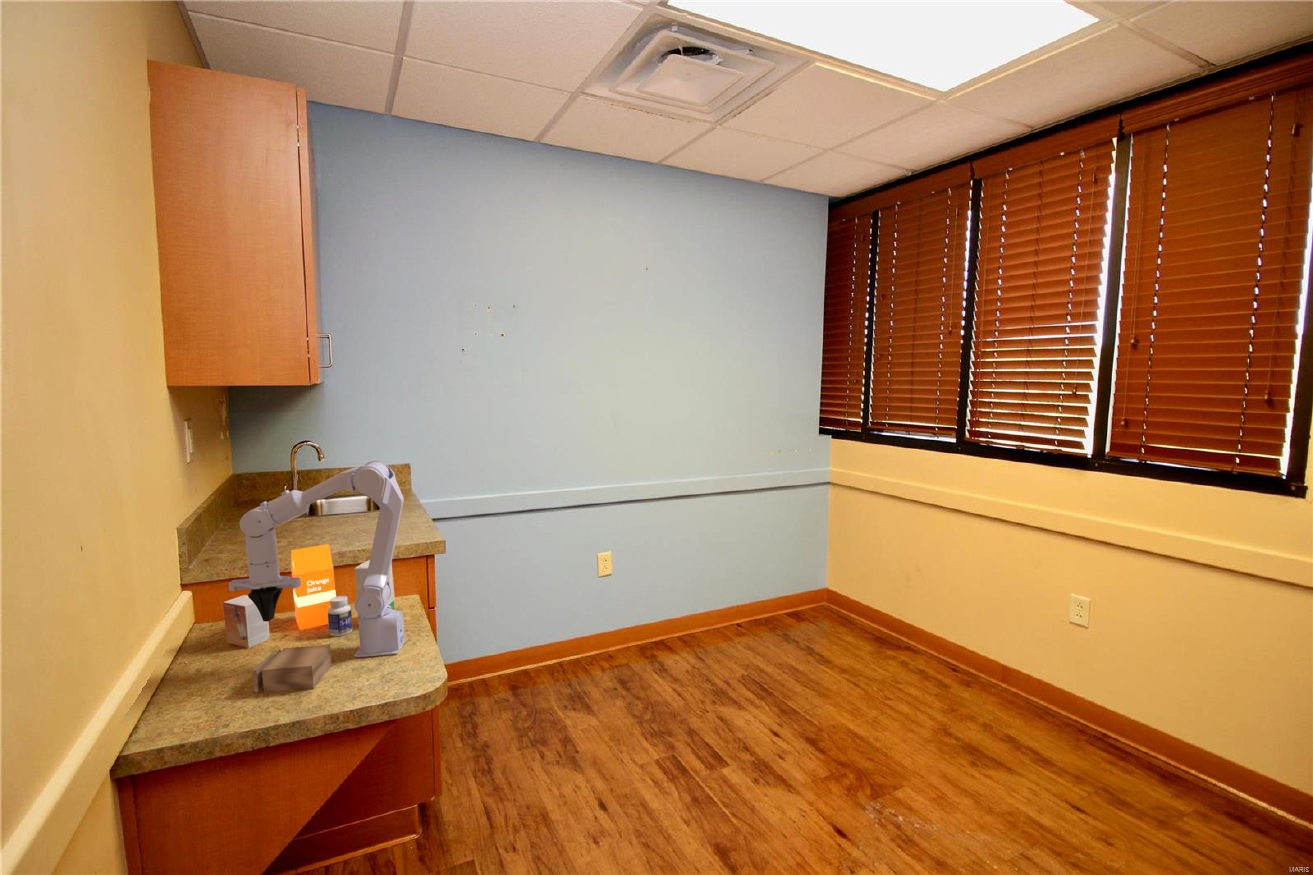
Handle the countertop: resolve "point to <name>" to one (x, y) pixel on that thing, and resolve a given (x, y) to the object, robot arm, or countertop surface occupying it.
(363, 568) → the skincare box
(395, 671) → the countertop surface
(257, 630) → the small box
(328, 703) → the countertop surface
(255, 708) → the countertop surface
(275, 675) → the cabinet
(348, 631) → the pill bottle
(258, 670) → the door
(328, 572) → the orange juice
